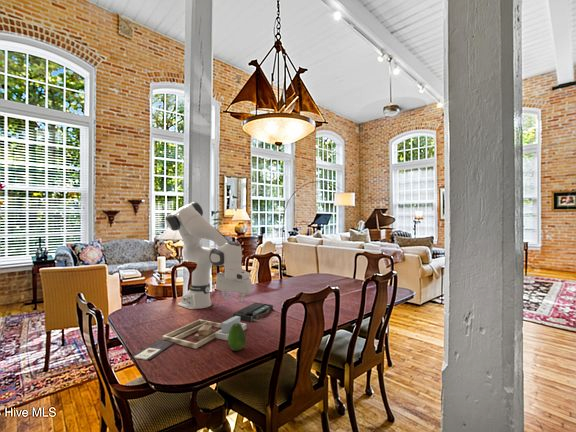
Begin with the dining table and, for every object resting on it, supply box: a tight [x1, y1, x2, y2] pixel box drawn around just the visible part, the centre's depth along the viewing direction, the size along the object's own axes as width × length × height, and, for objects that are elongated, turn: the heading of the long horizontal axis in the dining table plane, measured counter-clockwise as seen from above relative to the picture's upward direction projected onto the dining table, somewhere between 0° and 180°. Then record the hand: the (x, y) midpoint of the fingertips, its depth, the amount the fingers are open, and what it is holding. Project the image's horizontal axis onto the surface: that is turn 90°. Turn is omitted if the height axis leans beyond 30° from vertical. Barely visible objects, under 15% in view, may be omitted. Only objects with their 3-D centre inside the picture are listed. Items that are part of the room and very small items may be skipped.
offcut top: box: [197, 325, 213, 335], centre depth 152 cm, size 5×7×2 cm, turn 176°
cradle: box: [214, 322, 248, 341], centre depth 157 cm, size 7×17×2 cm, turn 154°
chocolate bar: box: [131, 339, 175, 361], centre depth 137 cm, size 9×1×18 cm
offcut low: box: [193, 328, 217, 342], centre depth 152 cm, size 5×10×2 cm, turn 155°
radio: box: [232, 302, 274, 323], centre depth 186 cm, size 25×4×20 cm
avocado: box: [227, 323, 247, 352], centre depth 137 cm, size 8×8×12 cm
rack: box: [161, 318, 222, 350], centre depth 155 cm, size 21×26×2 cm
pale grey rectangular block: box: [220, 316, 241, 334], centre depth 157 cm, size 3×12×7 cm, turn 154°
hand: (233, 300), depth 157 cm, fingers open, 8 cm apart
